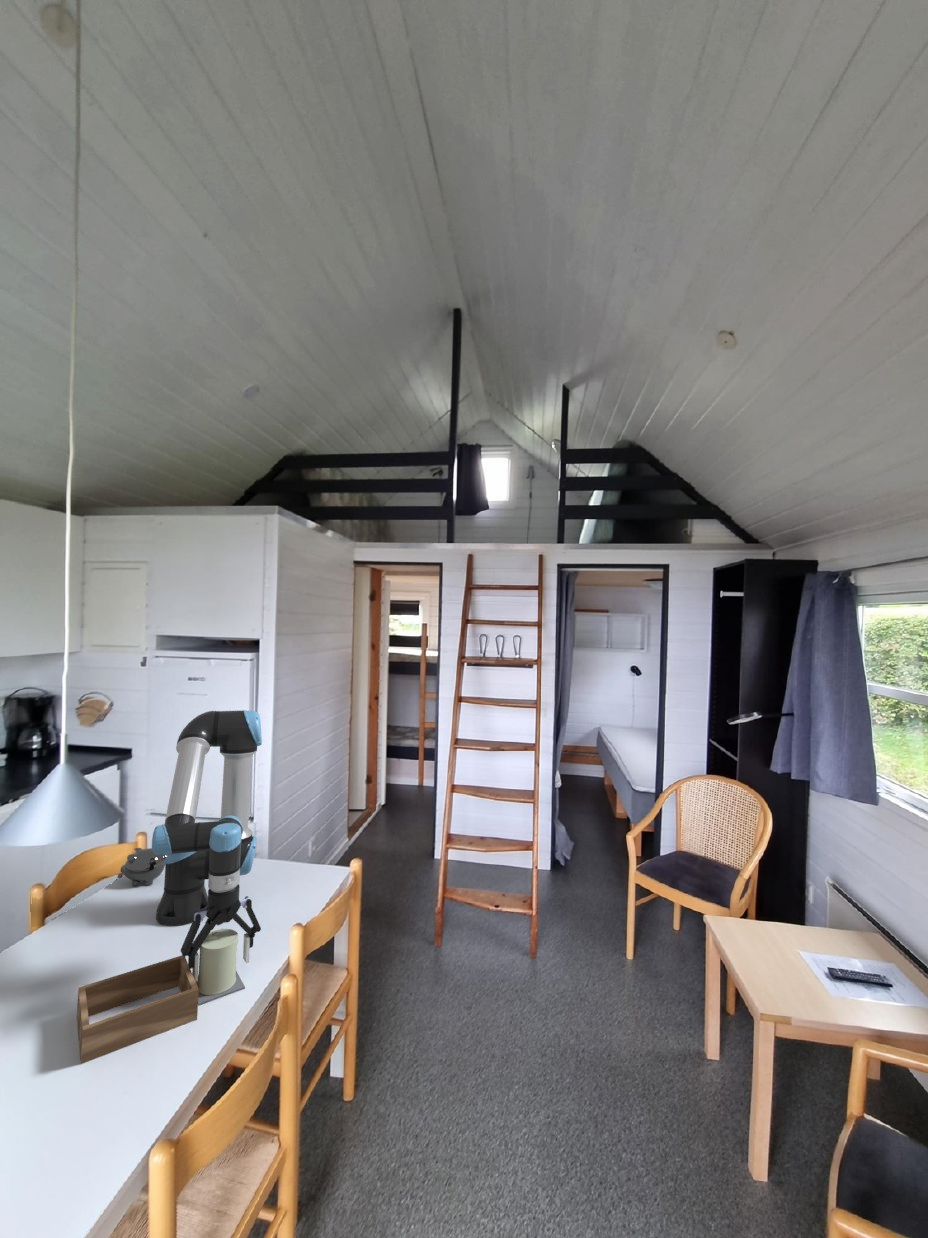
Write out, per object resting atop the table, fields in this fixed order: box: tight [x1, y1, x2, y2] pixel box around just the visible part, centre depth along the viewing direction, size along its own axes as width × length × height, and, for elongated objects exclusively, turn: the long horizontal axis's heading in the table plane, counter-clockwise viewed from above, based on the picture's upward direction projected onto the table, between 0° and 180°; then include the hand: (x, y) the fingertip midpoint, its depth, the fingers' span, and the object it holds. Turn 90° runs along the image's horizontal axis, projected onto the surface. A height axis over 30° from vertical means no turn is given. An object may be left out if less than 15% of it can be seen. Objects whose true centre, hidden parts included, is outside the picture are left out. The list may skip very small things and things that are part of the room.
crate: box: [76, 954, 199, 1065], centre depth 125 cm, size 16×22×7 cm
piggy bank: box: [120, 847, 166, 887], centre depth 189 cm, size 11×15×12 cm
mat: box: [196, 970, 246, 1007], centre depth 137 cm, size 11×11×1 cm
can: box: [197, 928, 239, 995], centre depth 138 cm, size 9×9×12 cm
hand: (221, 969), depth 138 cm, fingers open, 12 cm apart
